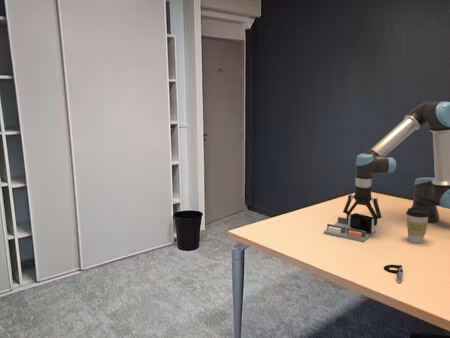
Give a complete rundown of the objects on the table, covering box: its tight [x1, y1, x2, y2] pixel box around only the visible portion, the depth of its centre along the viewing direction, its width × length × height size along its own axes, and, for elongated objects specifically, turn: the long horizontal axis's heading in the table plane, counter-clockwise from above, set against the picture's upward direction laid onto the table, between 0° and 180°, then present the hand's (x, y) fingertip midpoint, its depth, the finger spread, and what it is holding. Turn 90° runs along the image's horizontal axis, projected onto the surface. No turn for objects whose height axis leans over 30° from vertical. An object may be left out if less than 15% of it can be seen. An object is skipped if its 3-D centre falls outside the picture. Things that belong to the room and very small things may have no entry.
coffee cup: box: [406, 207, 430, 244], centre depth 180 cm, size 10×10×15 cm
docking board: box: [323, 216, 377, 243], centre depth 193 cm, size 20×18×4 cm
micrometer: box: [383, 264, 404, 284], centre depth 149 cm, size 15×7×2 cm, turn 154°
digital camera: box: [351, 212, 373, 233], centre depth 191 cm, size 10×5×7 cm, turn 40°
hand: (361, 229), depth 192 cm, fingers closed on digital camera, 11 cm apart
